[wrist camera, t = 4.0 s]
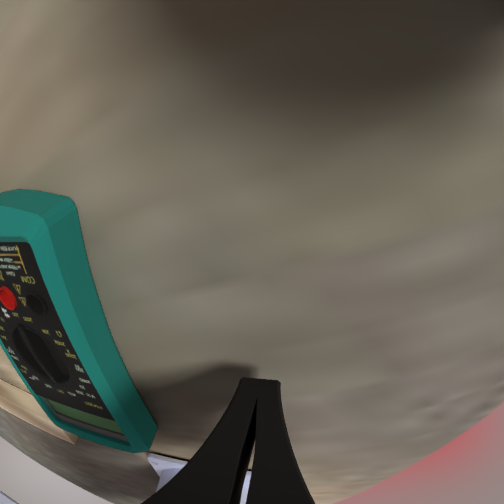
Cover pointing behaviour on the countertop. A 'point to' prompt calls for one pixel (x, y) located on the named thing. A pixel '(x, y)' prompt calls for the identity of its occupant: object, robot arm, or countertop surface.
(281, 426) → the robot arm
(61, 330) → the digital multimeter
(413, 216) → the countertop surface
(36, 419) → the notched board
